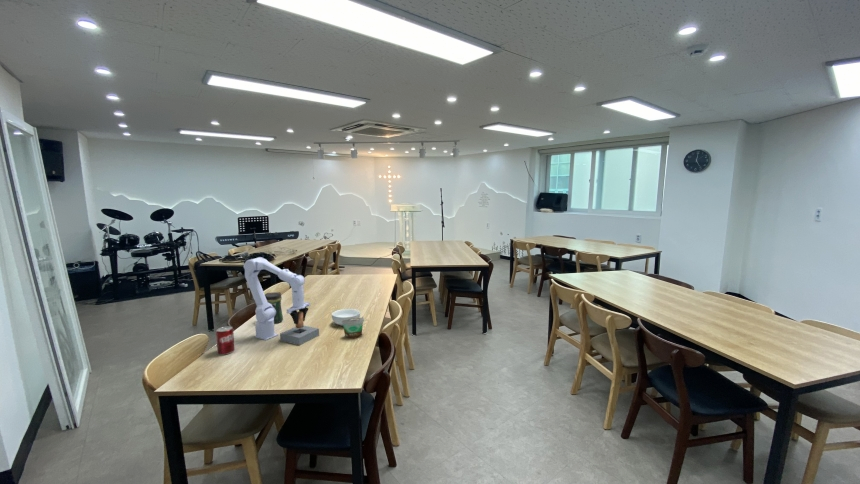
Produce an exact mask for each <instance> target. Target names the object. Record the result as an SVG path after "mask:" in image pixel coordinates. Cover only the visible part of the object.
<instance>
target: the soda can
mask: <svg viewBox="0 0 860 484" xmlns="http://www.w3.org/2000/svg"><path fill="white" fill-rule="evenodd" d="M234 334H235V333H234V328H233V326H222V327H219V328H217V329H216V331H215V335H216V337H215V339H216V340H215V341H216V350H217V351H216V353H217V354H218V355H220V356H226V355H231V354H232V353H233V352H234V351H235V349H236V348H235V335H234Z"/></svg>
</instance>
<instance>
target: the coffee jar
mask: <svg viewBox="0 0 860 484" xmlns="http://www.w3.org/2000/svg"><path fill="white" fill-rule="evenodd" d="M264 294H265V297H266V299H267V302H268V303H270V304H272V306H273V308H274V309H275V310H276V315H275V316H274V324H280V323H281V322H283V320H284V317H283V311H282V299H283V297H282V294H281V292H267V293H264Z"/></svg>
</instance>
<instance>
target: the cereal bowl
mask: <svg viewBox="0 0 860 484" xmlns="http://www.w3.org/2000/svg"><path fill="white" fill-rule="evenodd" d="M353 318H361V312H360V310H359V309H355V308H343V309H338V310H335V311H333V312H331V319H332V321H333V323H335V324H337V325H340V326H341V327H344V326H343V323H342V320H349V319H353Z"/></svg>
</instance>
